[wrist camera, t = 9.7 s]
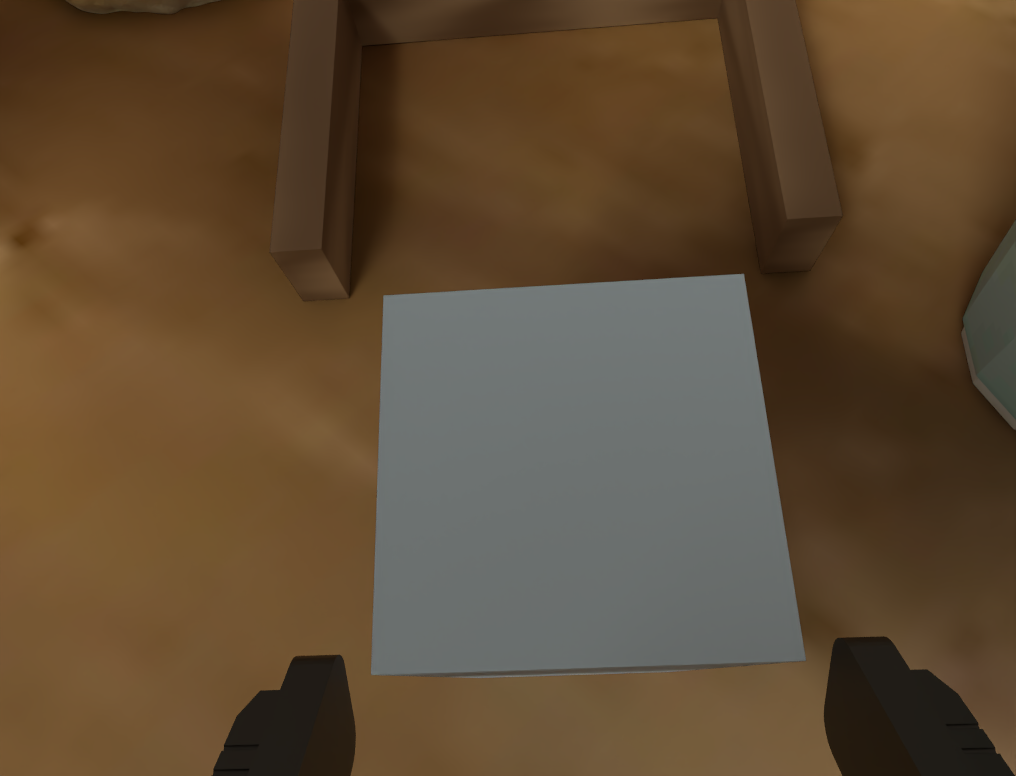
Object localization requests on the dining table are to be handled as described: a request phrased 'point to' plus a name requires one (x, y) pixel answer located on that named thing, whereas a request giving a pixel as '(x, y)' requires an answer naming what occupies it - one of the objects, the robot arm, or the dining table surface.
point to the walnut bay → (525, 9)
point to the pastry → (136, 5)
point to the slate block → (577, 484)
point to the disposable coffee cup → (995, 330)
